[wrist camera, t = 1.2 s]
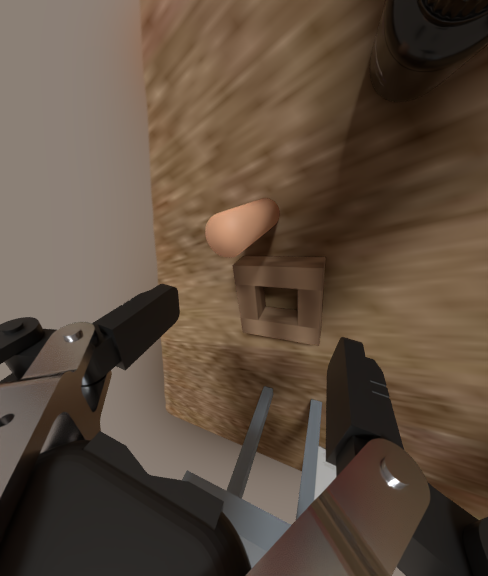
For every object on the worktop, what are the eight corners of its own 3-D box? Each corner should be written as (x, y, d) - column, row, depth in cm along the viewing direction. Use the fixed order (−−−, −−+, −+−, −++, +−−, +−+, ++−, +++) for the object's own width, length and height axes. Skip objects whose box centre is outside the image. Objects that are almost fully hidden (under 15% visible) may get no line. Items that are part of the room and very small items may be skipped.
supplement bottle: (350, 72, 19) (361, -33, 9) (431, -42, 15) (603, -445, 5) (404, 123, 19) (470, 73, 9) (498, 24, 15) (784, -243, 5)
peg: (279, 196, 26) (243, 210, 16) (280, 228, 28) (248, 258, 18) (249, 199, 28) (201, 214, 18) (252, 229, 29) (210, 257, 20)
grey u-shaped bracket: (326, 344, 34) (308, 576, 14) (321, 408, 41) (304, 617, 22) (257, 332, 38) (173, 495, 19) (264, 392, 46) (209, 552, 27)
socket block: (325, 257, 27) (323, 268, 24) (321, 328, 33) (319, 345, 29) (243, 255, 32) (232, 265, 29) (251, 318, 37) (242, 332, 34)
